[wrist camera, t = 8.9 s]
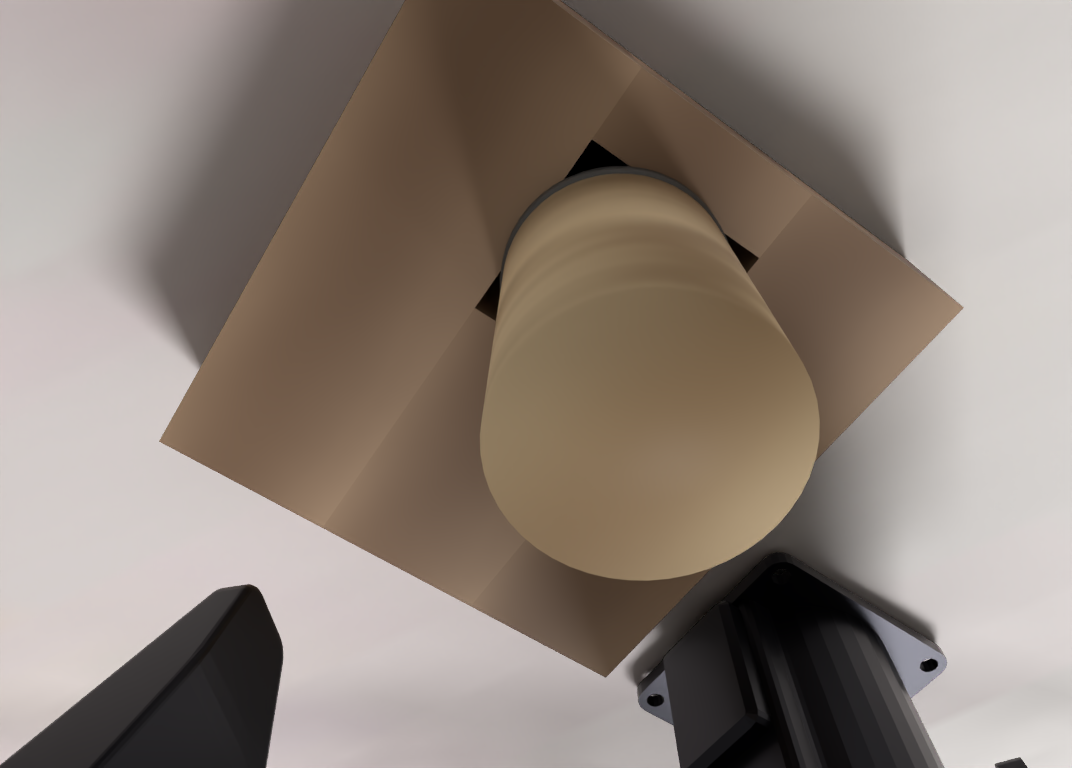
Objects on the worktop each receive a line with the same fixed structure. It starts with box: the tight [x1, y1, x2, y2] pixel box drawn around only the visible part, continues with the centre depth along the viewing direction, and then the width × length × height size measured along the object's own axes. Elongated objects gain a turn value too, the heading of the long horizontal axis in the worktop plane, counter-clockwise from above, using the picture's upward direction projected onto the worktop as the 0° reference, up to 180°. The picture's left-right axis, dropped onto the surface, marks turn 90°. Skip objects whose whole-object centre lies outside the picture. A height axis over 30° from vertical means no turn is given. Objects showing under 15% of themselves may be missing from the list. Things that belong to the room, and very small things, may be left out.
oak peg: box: [480, 166, 820, 581], centre depth 15 cm, size 4×4×9 cm
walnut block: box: [159, 0, 963, 677], centre depth 19 cm, size 12×12×3 cm
